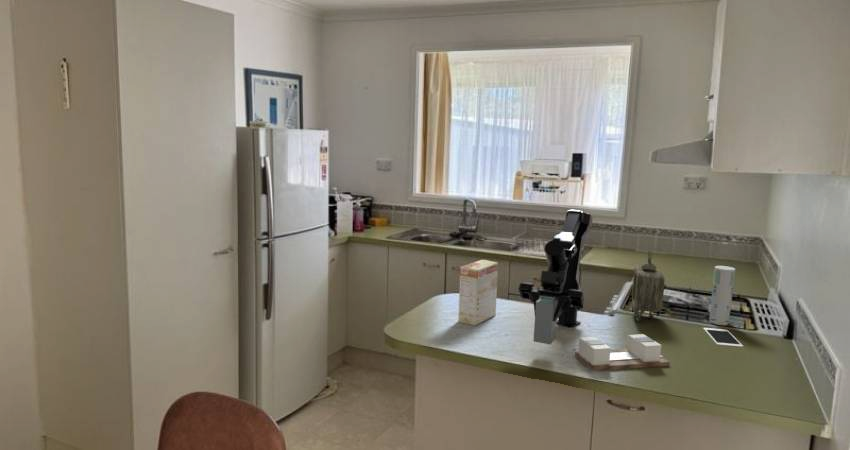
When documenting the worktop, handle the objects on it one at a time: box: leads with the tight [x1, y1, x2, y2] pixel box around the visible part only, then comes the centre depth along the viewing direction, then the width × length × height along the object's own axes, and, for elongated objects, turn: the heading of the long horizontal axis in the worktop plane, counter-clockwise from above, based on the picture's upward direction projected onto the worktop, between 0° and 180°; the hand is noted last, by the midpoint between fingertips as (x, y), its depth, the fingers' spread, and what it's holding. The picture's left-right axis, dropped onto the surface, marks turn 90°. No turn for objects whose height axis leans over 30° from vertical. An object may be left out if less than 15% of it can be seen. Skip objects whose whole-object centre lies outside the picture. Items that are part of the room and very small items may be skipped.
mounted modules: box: [577, 333, 662, 365], centre depth 170 cm, size 21×9×5 cm, turn 102°
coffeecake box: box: [457, 259, 499, 326], centre depth 203 cm, size 15×7×20 cm, turn 144°
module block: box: [533, 296, 558, 345], centre depth 171 cm, size 6×5×12 cm
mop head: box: [631, 249, 665, 322], centre depth 209 cm, size 14×9×25 cm, turn 164°
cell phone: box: [703, 327, 744, 348], centre depth 193 cm, size 8×16×1 cm, turn 170°
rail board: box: [574, 348, 671, 372], centre depth 171 cm, size 24×11×2 cm, turn 102°
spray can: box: [708, 265, 736, 326], centre depth 207 cm, size 6×6×20 cm
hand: (544, 319), depth 170 cm, fingers closed on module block, 5 cm apart
